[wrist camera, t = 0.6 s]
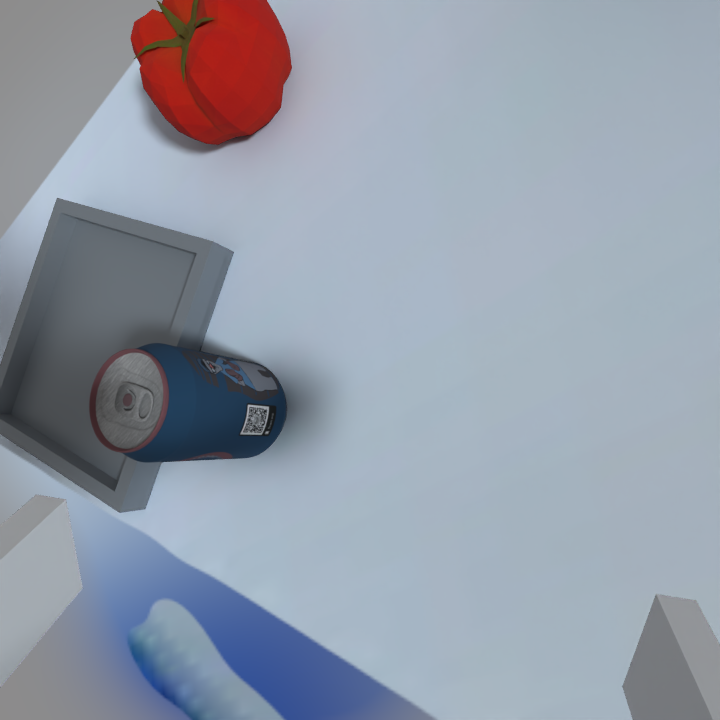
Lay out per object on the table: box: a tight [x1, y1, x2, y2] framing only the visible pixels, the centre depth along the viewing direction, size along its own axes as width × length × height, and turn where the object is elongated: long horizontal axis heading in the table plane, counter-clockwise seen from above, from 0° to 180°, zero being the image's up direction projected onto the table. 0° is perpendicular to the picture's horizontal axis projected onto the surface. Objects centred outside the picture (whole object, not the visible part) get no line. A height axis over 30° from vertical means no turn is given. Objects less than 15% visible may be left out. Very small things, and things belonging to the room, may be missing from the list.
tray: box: [0, 198, 234, 513], centre depth 46 cm, size 22×20×2 cm
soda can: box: [89, 343, 287, 463], centre depth 35 cm, size 7×7×12 cm
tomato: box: [131, 0, 292, 145], centre depth 40 cm, size 11×12×9 cm
